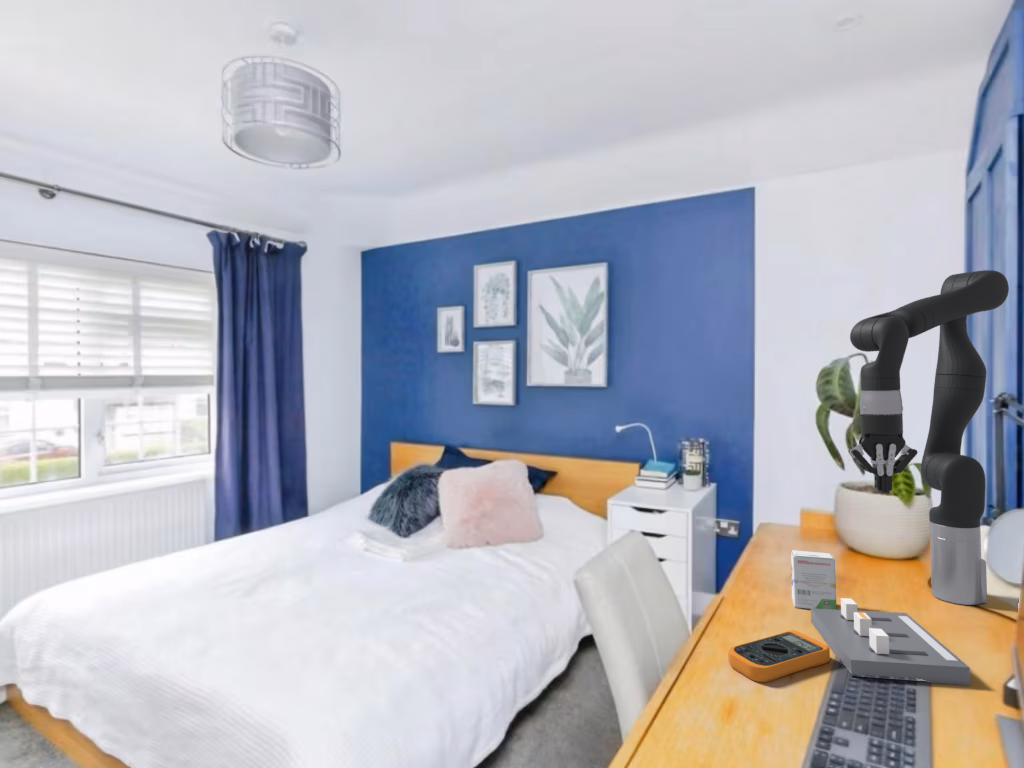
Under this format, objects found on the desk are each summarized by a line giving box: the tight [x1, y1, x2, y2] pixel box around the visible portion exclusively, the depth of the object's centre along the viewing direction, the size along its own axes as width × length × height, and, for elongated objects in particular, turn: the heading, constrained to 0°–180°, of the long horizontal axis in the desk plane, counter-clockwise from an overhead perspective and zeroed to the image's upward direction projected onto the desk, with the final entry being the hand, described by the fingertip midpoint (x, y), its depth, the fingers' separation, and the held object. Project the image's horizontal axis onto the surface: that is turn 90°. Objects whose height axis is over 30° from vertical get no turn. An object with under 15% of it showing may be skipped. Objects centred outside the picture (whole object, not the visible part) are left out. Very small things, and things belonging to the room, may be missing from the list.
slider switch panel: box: [810, 608, 971, 686], centre depth 106 cm, size 18×22×3 cm
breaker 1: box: [840, 597, 858, 620], centre depth 114 cm, size 2×3×3 cm, turn 168°
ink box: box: [790, 549, 838, 610], centre depth 127 cm, size 9×5×12 cm, turn 69°
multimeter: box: [727, 629, 831, 683], centre depth 103 cm, size 9×18×3 cm, turn 112°
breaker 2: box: [869, 628, 889, 654], centre depth 100 cm, size 2×3×3 cm, turn 168°
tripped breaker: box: [854, 612, 872, 636], centre depth 107 cm, size 2×3×3 cm, turn 168°
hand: (883, 492), depth 119 cm, fingers closed
